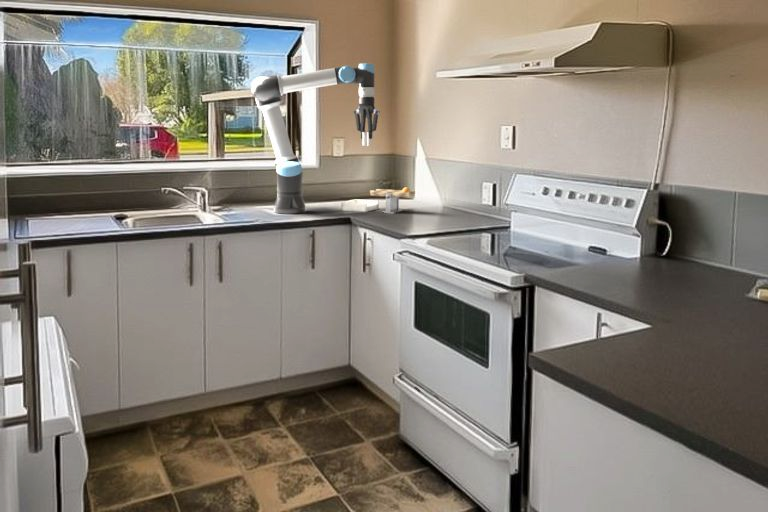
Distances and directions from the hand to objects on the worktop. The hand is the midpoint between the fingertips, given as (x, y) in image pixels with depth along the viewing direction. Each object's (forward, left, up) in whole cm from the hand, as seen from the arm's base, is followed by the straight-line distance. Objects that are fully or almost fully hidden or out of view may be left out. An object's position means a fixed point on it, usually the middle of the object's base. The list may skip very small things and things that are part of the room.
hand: (366, 145), depth 364 cm
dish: (+1, -9, -30) cm, 32 cm away
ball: (+25, -9, -20) cm, 33 cm away
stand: (+18, -9, -30) cm, 37 cm away
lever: (+18, -6, -23) cm, 30 cm away
